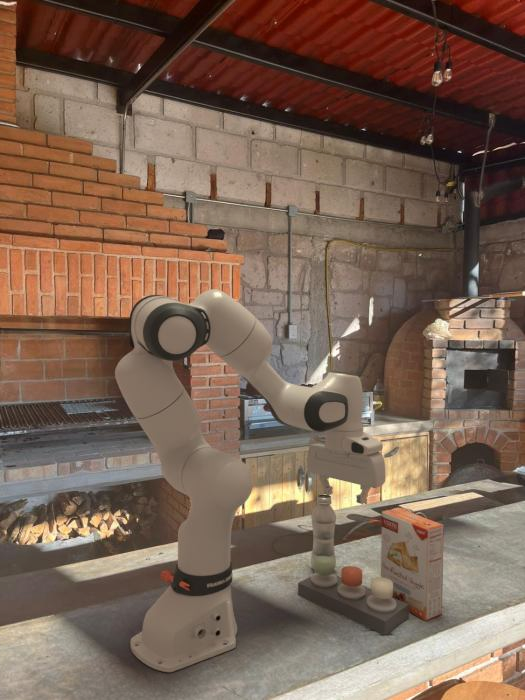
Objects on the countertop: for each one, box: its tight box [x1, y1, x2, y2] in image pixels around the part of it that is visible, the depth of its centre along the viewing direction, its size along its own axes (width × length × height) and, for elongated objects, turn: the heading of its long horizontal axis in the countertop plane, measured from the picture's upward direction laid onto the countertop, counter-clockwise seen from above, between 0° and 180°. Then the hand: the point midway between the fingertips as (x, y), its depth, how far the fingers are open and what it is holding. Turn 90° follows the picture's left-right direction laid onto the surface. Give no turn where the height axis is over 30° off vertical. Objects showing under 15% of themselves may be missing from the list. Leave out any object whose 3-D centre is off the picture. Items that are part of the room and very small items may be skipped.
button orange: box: [340, 565, 363, 587], centre depth 124 cm, size 5×5×3 cm
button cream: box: [370, 576, 393, 599], centre depth 118 cm, size 5×5×3 cm
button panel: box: [297, 572, 410, 636], centre depth 124 cm, size 10×24×4 cm, turn 46°
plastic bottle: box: [310, 493, 337, 570], centre depth 142 cm, size 6×7×20 cm
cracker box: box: [380, 507, 445, 622], centre depth 124 cm, size 14×6×21 cm, turn 33°
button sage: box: [313, 556, 335, 575], centre depth 129 cm, size 5×5×3 cm
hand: (344, 498), depth 125 cm, fingers open, 8 cm apart
